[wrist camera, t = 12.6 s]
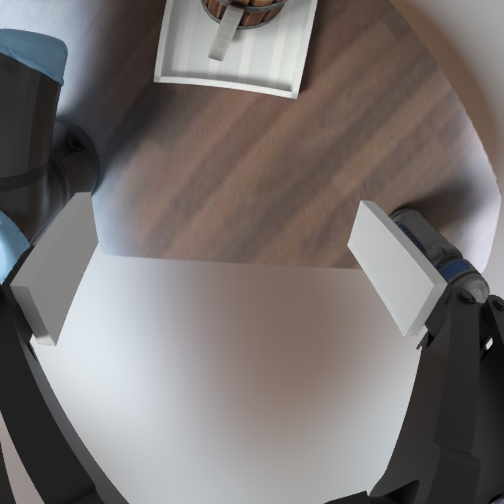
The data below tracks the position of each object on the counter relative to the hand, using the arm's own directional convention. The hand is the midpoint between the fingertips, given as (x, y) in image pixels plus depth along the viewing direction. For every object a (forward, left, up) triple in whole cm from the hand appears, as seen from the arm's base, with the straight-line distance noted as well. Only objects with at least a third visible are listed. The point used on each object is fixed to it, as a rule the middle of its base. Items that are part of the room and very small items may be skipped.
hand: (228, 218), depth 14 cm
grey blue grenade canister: (+35, -14, -31) cm, 49 cm away
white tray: (0, +15, -30) cm, 34 cm away
